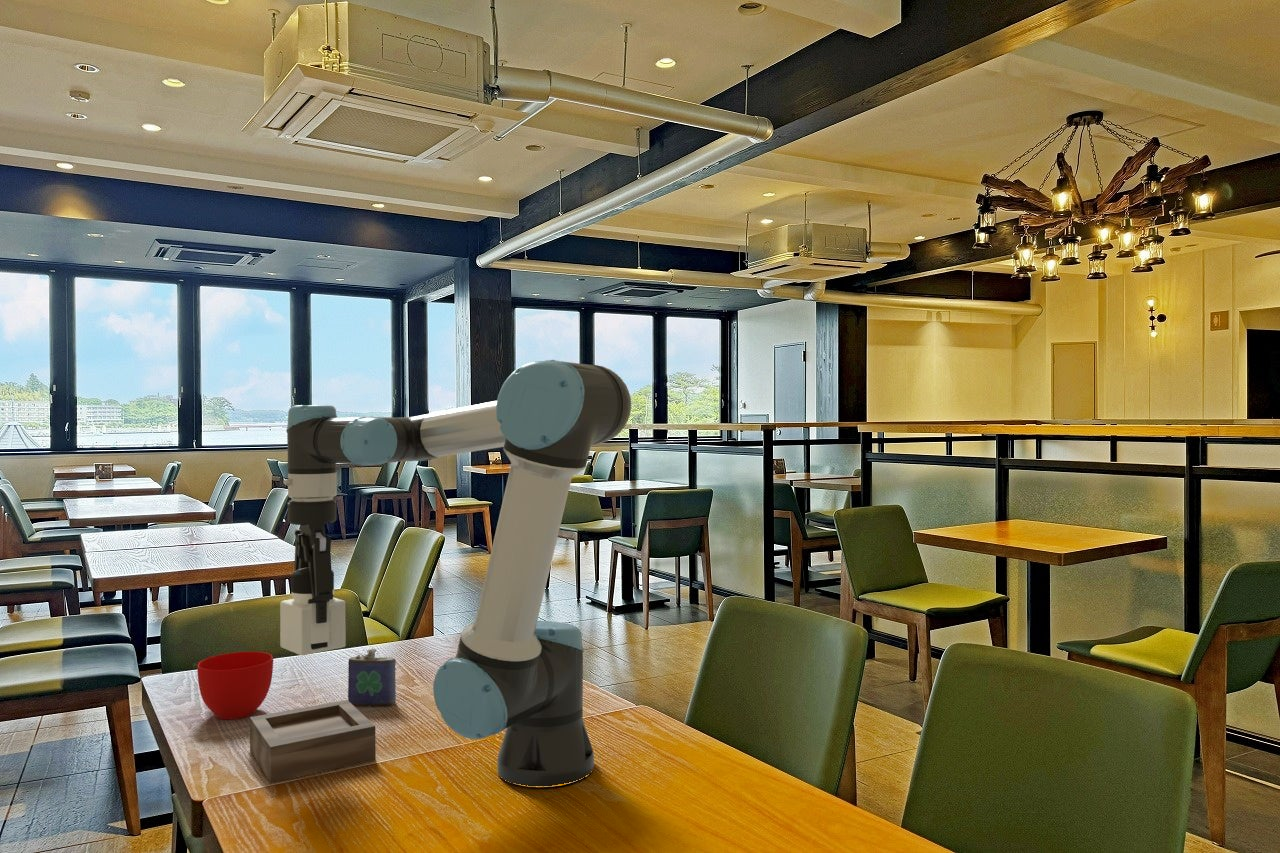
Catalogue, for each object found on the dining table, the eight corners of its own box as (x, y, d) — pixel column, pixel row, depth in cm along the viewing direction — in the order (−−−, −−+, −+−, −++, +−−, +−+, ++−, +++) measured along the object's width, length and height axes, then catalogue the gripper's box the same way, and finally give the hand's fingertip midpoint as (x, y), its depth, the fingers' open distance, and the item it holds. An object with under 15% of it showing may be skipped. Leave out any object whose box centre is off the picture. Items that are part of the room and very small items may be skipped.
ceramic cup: (250, 693, 177) (249, 644, 177) (284, 713, 165) (284, 660, 165) (180, 708, 168) (180, 656, 168) (211, 731, 156) (211, 674, 156)
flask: (397, 702, 171) (397, 647, 171) (392, 707, 168) (392, 651, 168) (350, 701, 172) (350, 647, 172) (345, 706, 169) (344, 651, 169)
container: (346, 647, 145) (346, 568, 145) (301, 656, 139) (300, 574, 139) (324, 638, 150) (323, 563, 150) (279, 647, 144) (279, 568, 144)
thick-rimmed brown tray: (375, 759, 142) (375, 726, 142) (270, 783, 133) (270, 747, 133) (347, 730, 156) (347, 699, 156) (250, 750, 147) (249, 717, 147)
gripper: (274, 495, 151) (274, 626, 151) (303, 505, 133) (304, 654, 134) (319, 492, 155) (319, 620, 156) (353, 503, 137) (354, 647, 138)
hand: (312, 636), depth 145 cm, fingers closed on container, 9 cm apart
